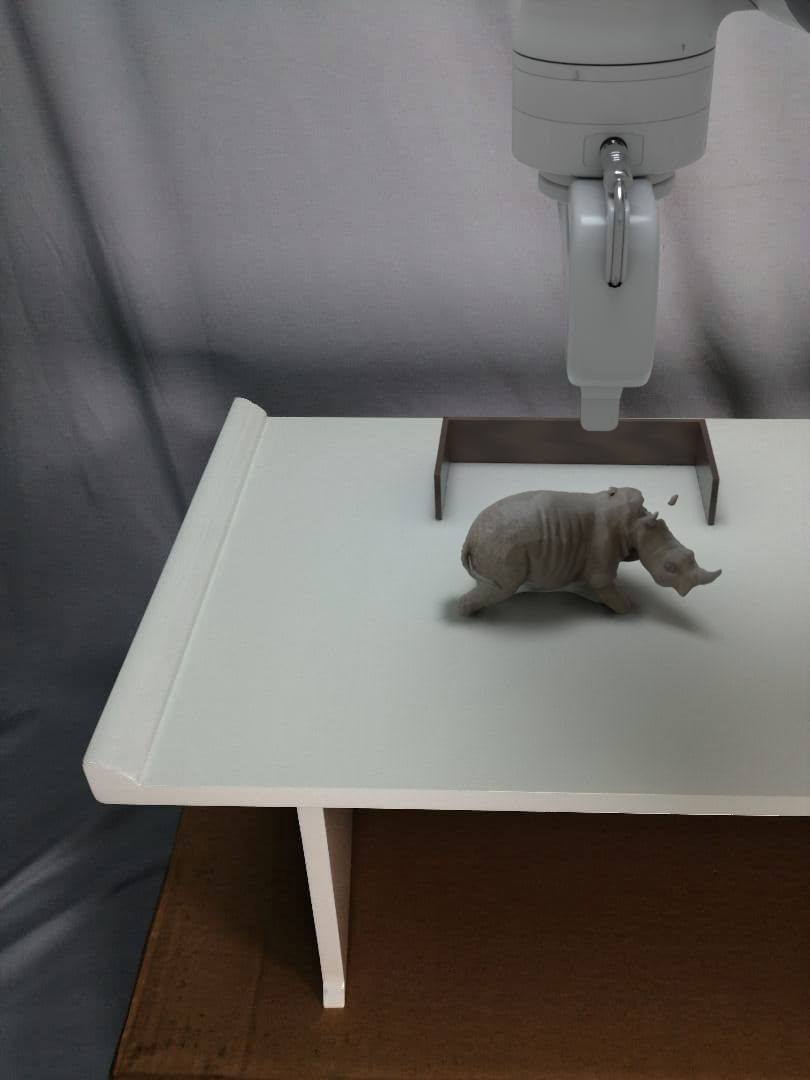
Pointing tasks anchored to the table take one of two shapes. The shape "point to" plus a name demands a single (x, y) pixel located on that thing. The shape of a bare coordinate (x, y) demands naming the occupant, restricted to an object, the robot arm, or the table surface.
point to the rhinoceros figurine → (572, 548)
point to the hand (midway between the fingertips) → (595, 390)
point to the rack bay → (577, 446)
